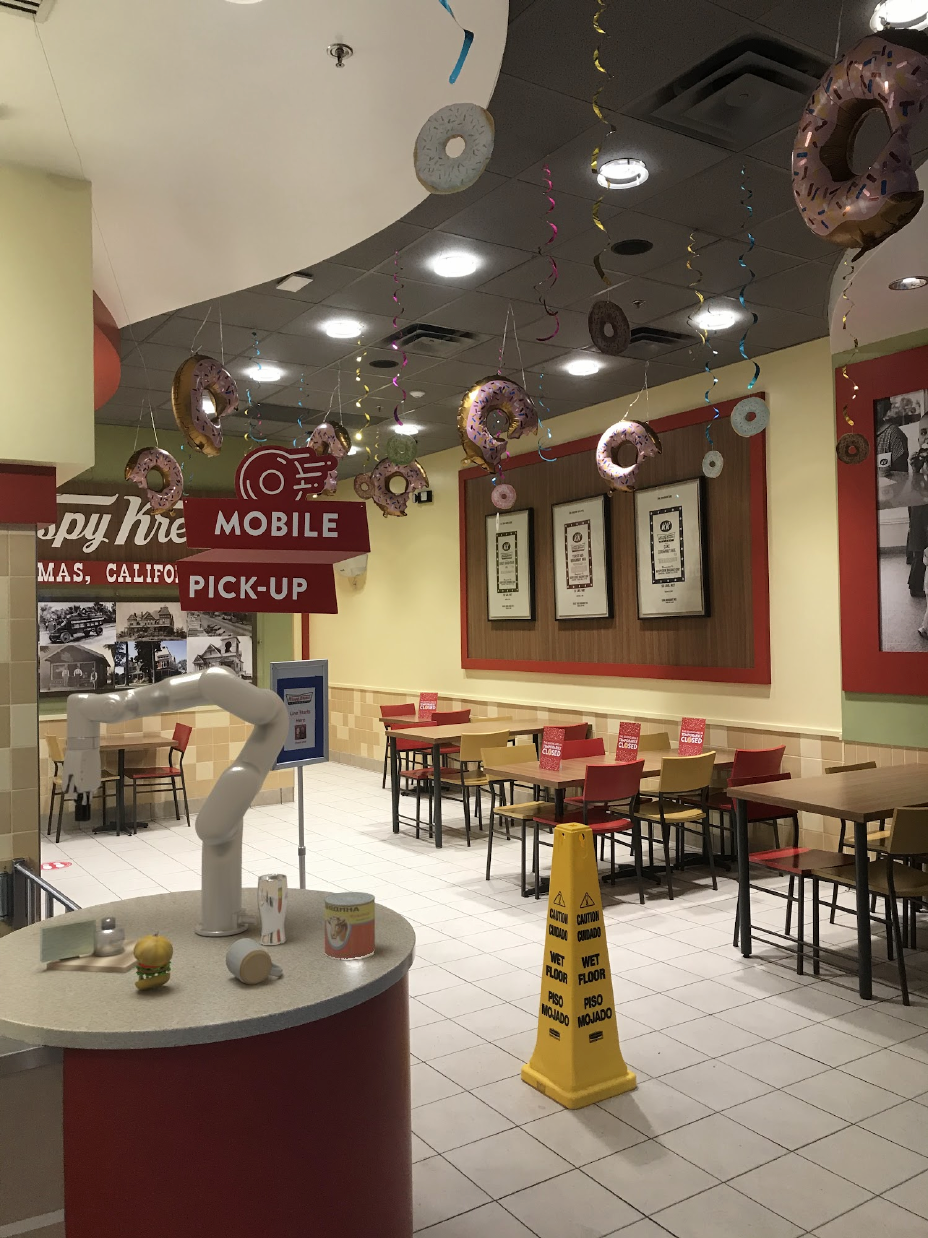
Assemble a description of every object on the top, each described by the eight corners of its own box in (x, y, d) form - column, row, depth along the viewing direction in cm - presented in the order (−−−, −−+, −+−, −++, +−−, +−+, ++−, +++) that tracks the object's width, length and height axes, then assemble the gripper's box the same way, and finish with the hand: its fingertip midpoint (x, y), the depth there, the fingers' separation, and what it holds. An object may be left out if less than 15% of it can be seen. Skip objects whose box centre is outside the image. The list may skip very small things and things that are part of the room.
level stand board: (165, 947, 217) (165, 940, 217) (125, 973, 199) (125, 966, 199) (92, 944, 220) (92, 937, 220) (46, 969, 202) (46, 962, 202)
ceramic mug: (239, 990, 188) (240, 950, 189) (224, 978, 195) (225, 940, 195) (289, 980, 194) (289, 942, 195) (272, 969, 201) (273, 932, 201)
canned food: (314, 956, 209) (314, 901, 210) (342, 942, 219) (342, 890, 220) (358, 963, 204) (357, 906, 205) (384, 948, 214) (384, 895, 215)
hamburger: (162, 981, 194) (163, 922, 194) (180, 990, 188) (180, 929, 189) (126, 991, 188) (126, 929, 189) (143, 1000, 183) (143, 937, 184)
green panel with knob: (118, 944, 214) (119, 910, 215) (129, 951, 209) (129, 917, 209) (36, 960, 203) (36, 924, 204) (45, 968, 198) (45, 932, 198)
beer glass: (280, 947, 216) (280, 881, 216) (252, 946, 217) (252, 879, 218) (292, 938, 223) (292, 874, 223) (264, 937, 224) (264, 873, 225)
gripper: (86, 741, 237) (85, 815, 237) (50, 747, 223) (50, 826, 222) (113, 741, 236) (113, 816, 236) (80, 747, 222) (79, 826, 221)
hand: (82, 820), depth 229 cm, fingers closed
